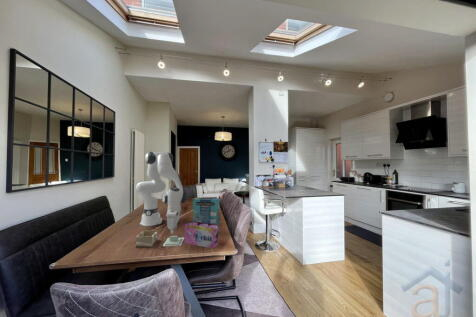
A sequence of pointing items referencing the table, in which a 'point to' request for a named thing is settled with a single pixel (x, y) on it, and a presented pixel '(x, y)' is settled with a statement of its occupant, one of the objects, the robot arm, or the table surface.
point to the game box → (206, 210)
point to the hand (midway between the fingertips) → (173, 230)
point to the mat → (174, 245)
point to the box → (146, 238)
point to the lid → (173, 240)
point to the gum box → (201, 234)
